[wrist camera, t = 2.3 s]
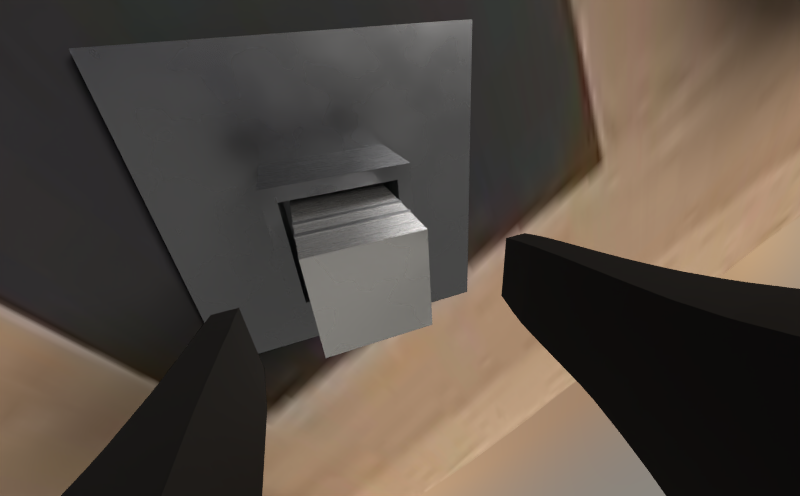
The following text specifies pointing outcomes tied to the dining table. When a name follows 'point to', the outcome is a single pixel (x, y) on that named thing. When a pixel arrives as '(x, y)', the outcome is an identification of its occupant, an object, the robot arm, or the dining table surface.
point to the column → (362, 266)
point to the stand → (288, 150)
